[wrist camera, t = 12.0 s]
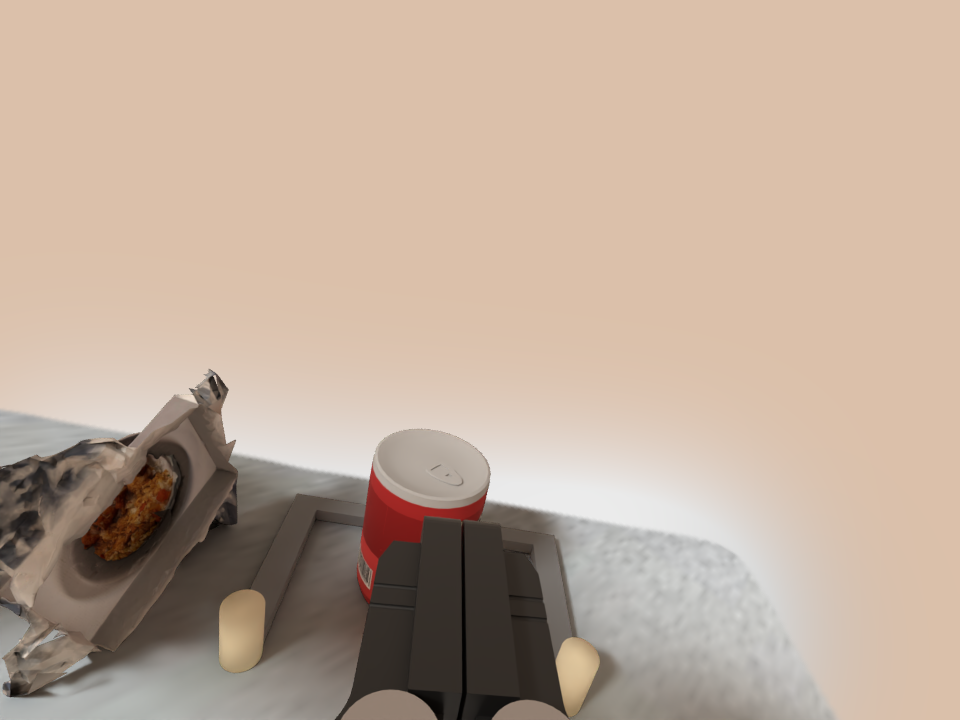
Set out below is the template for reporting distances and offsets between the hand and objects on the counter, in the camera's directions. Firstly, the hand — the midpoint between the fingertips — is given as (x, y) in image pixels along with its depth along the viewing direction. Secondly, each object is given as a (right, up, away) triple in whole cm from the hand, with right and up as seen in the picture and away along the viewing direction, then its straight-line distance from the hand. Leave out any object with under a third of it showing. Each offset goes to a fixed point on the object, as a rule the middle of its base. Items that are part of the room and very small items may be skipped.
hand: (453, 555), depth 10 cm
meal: (-22, -11, +23) cm, 34 cm away
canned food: (-5, -13, +29) cm, 32 cm away
